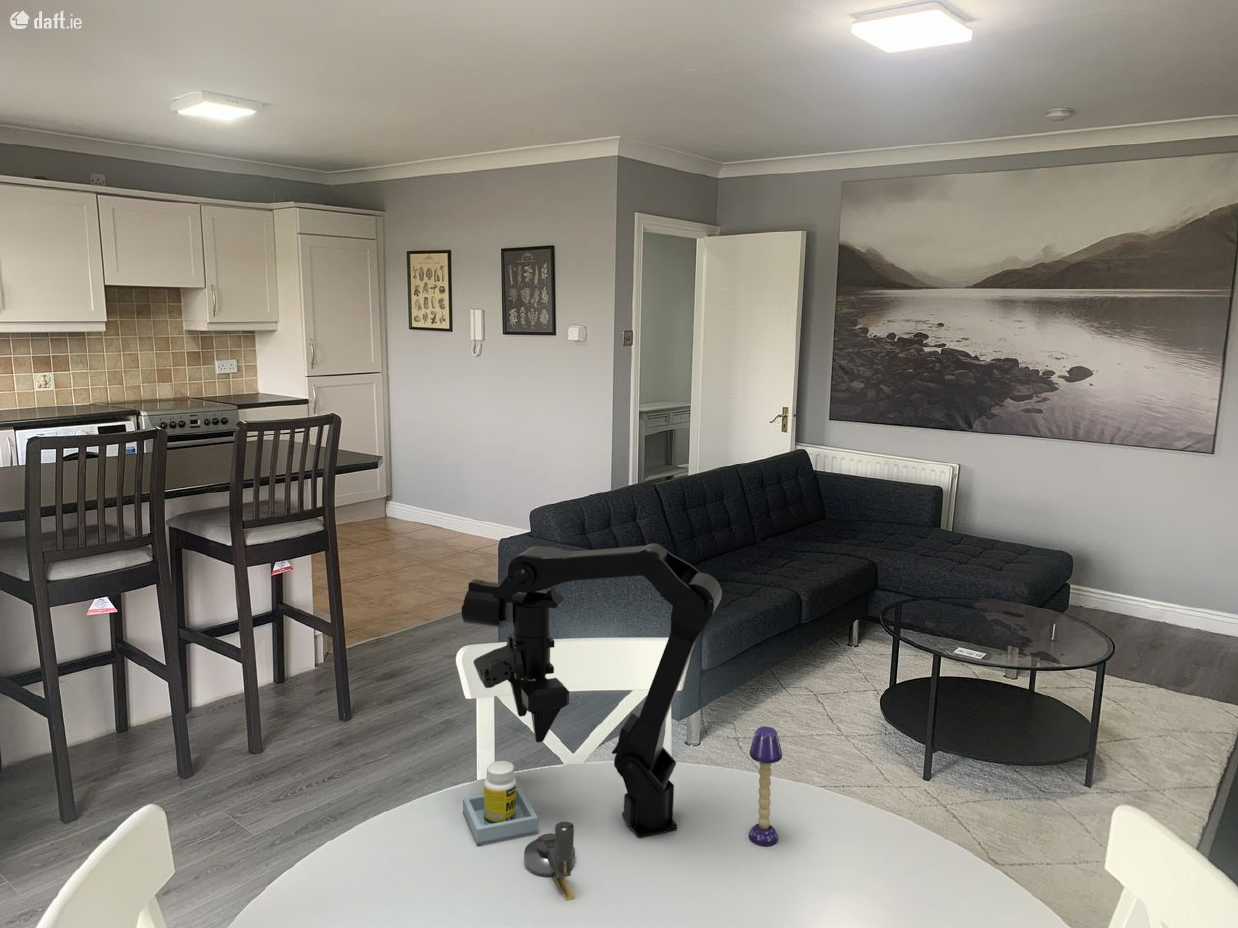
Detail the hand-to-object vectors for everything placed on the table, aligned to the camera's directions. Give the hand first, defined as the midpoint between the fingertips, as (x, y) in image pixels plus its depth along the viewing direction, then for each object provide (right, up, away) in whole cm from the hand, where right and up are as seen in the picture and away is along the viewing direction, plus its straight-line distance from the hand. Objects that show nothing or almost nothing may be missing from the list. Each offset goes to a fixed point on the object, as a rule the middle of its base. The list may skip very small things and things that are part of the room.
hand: (530, 728), depth 138 cm
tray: (-4, -13, -4) cm, 14 cm away
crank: (+5, -13, -16) cm, 22 cm away
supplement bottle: (-4, -12, -4) cm, 14 cm away
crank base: (+5, -15, -16) cm, 22 cm away
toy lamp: (+35, -14, -6) cm, 38 cm away
